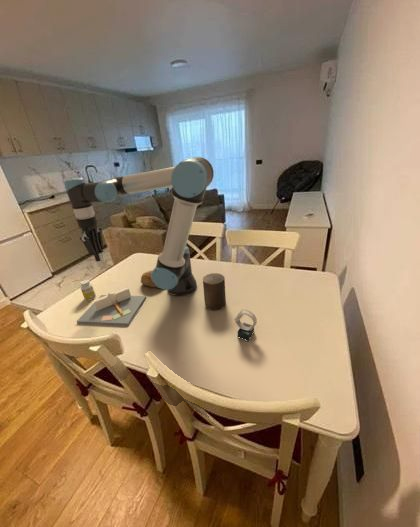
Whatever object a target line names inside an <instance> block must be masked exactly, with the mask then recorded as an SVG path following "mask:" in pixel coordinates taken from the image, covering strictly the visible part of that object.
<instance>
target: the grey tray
mask: <svg viewBox="0 0 420 527" xmlns="http://www.w3.org/2000/svg"><path fill="white" fill-rule="evenodd" d="M106 295H107V294H101V295H100V296H99V297H98V298H97V299H99V298H101V297H104V296H106ZM146 299H147V295H131V297H130V298H127V299H125V300H123V301H120V302H118V303H117V305H118V307H119V308H120V310H121V311H122V312H123V314H121V313H120V312H119V310H118V309H117V308H116V306H115V305H111V306H108V307H106V308H103V309H101V310H99V311H97V309H96V307H95V304H94V302H93V304H91V305H90V307H89V308H87V310H86V311H85V312H83V314H82V315H81V316H80V317H79V318H78V319H77V320H76V323H77V324H84V325H105V326H106V325H107V326H126V327H128V326H130V324H131V322H132V321H133V319H134V317H135V316H136V315H137V313H138V312H139V310H140V309H141V307H142V306H143V304H144V302H145V301H146Z"/></svg>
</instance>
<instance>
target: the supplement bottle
mask: <svg viewBox="0 0 420 527" xmlns="http://www.w3.org/2000/svg"><path fill="white" fill-rule="evenodd" d="M90 282H91V281H90V280H89V279H84V280H82V281H80V290H81V293H82V296H83V298H84V300H85V301H87V302H88V301H92V300H95V298H96V297H97V296H96V291H95V289H94V287H93V284H92V283H90Z"/></svg>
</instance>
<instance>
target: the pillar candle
mask: <svg viewBox="0 0 420 527" xmlns="http://www.w3.org/2000/svg"><path fill="white" fill-rule="evenodd" d="M225 279H226V278H225V276H224V275H223V274H221V273H217V272H216V273H215V272H214V273H213V272H211V273H209V274H206V275H204V276H203V277H202V284H203V296H204V305H205V307H206V308H207V309H208V310H211V311H218V310H222V309H224V308H225V307H226V304H227V300H226V298H227V297H226V281H225Z"/></svg>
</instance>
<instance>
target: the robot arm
mask: <svg viewBox="0 0 420 527" xmlns="http://www.w3.org/2000/svg"><path fill="white" fill-rule="evenodd" d="M214 171H215V170H214V168H213V165H212V163H211V162H210V161H209V160H208V159H206V158H204V157H202V156H195V157H192V158H185V159H183V160H181V161H179V162H178V163H177V164H176V165H175V166H172V167H171V166H170V167H166V168H160V169H155V170H150V171H145V172H144V171H143V172H139V173H135V174H133V173H132V174H129V175H128V174H127V175H123V176H116V177H113V178H109V179H105V180H102V181H96V182H86V181H85V179H84V178H83V177H77V178H76V177H75V178H74V177H73V178H68V179H65V180H64V182H63V183H64V188H65V192H66V194H67V198H68V200H69V202H70V205H71V208H72V210H73V214H74V216H75V218H76V223H77V225H78V228H80V229H81V230H82V232H81V233H82V236H80V237H79V240H80V241H81V242H82V243H83V245H84V246H85V248H86V250H87V252H88V253H89V255H90V256H93V257H94V259H95V261H96V265H97V267H98V268H104V267H106V263H105V259H104V257H103V253H104V249H105V248H104V242H103V236H102V228H101V227H98V226H97V225H98V219H97V216H96V214H95V213H96V212H95V210H94V207H93V205H92V203H109V202H110V203H111V202H114V201H115V200H116V198H117V197H120V196H125V195H130V194H136V193H142V192H148V191H149V192H150V191H155V190H163V189H168V188H172V190H171V196H172V197H173V199H174V200H173V205H172V210H171V215H170V219H169V223H168V228H167V232H166V235H165V236H166V237H165V241H164V245H163V250H162V252H160V253H158V256H157V259H156V263H155V264H156V265H155V268H153V270H151V271H152V273H151V279H152V281H153V283H155V285H156V286H157V287H159V288H158V289H161V290H163V291H164V290H165V291H168V293H169V294H170V295H173V296H180V297H181V296H187V295H190V294H192V293H194V291H196V289H197V288H198V284H197V280H196V278H195V276H194V274H193V273H192V272H193V270H192V264H191V255H190V248H189V247H188V246H187V243H188V240H189V237H190V232H191V229H192V226H193V222H194V218H195V214H196V211H197V207H198V206H199V205H201V204H203V202H204V197H205V194H206V191H207V187H209V186H210V184H211V183H212V182H213V179H214Z"/></svg>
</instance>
